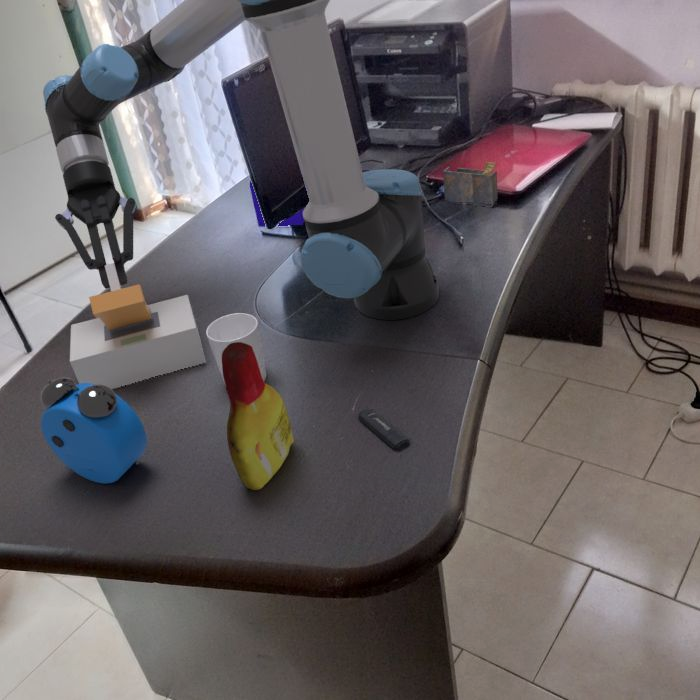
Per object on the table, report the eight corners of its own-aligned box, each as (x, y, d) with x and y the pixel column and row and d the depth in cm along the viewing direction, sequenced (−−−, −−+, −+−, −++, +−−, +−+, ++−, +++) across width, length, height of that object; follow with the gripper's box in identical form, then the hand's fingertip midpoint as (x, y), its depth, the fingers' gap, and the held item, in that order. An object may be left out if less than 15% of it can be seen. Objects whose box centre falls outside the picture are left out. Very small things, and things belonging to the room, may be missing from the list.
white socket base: (84, 358, 128) (70, 324, 124) (197, 328, 131) (187, 294, 127) (84, 396, 118) (69, 361, 114) (206, 362, 122) (195, 327, 118)
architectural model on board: (498, 204, 159) (497, 161, 154) (492, 209, 157) (491, 166, 152) (451, 198, 165) (448, 157, 159) (445, 204, 163) (442, 162, 157)
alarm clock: (160, 465, 102) (127, 378, 93) (131, 496, 97) (95, 408, 89) (89, 446, 107) (52, 363, 99) (59, 475, 103) (18, 391, 94)
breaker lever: (105, 319, 121) (88, 297, 110) (151, 307, 122) (139, 284, 111) (109, 335, 120) (93, 314, 109) (155, 322, 121) (144, 301, 110)
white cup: (230, 401, 112) (215, 347, 106) (214, 376, 118) (199, 324, 112) (277, 382, 114) (265, 328, 109) (259, 359, 120) (246, 307, 115)
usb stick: (412, 446, 99) (411, 437, 98) (396, 455, 98) (395, 446, 97) (371, 413, 106) (370, 405, 105) (356, 421, 105) (355, 412, 104)
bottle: (269, 502, 93) (235, 376, 82) (225, 495, 95) (186, 371, 84) (304, 440, 102) (278, 319, 91) (263, 435, 104) (232, 316, 93)
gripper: (129, 171, 125) (164, 300, 121) (51, 188, 122) (84, 320, 119) (122, 151, 117) (158, 288, 114) (38, 168, 115) (73, 309, 111)
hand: (120, 304), depth 116 cm, fingers closed
